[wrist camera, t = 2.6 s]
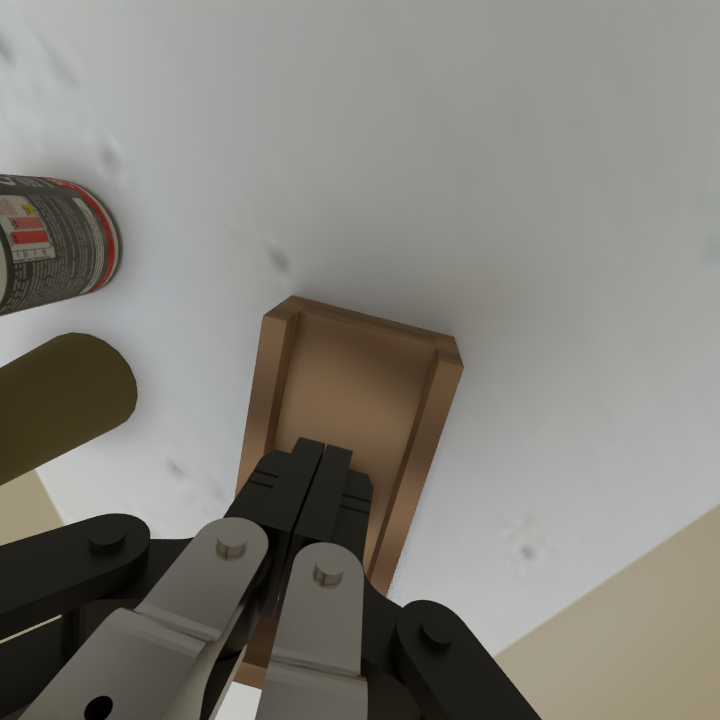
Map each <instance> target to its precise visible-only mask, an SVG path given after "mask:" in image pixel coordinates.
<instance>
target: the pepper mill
mask: <svg viewBox="0 0 720 720" xmlns="http://www.w3.org/2000/svg"><path fill="white" fill-rule="evenodd" d="M136 401H137V388H136V381H135V378H134V376H133V374H132V371H131V369H130V367H129V365H128V364H127V362H126V361H125V360H124V359H123V357H122V356H121V355H120V353H119V352H118V351H116V350H115V349H114V348H113V347H111V346H110V345H109V344H107V343H106V342H105V341H103V340H101V339H98V338H96V337H93V336H91V335H89V334H81V333H68V334H64V335H60V336H57V337H55V338H53V339H52V340H50V341H48V342H46V343H44V344H43V345H41V346H39V347H37V348H35V349H34V350H32V351H30V352H28V353H26V354H25V355H23V356H21V357H19V358H17V359H16V360H14V361H12V362H10V363H8V364H7V365H5V366H3V367H1V368H0V486H1V485H3V484H5V483H7V482H9V481H11V480H13V479H15V478H17V477H19V476H21V475H23V474H25V473H27V472H28V471H31V470H33V469H35V468H37V467H39V466H40V465H42V464H44V463H46V462H48V461H50V460H52V459H54V458H56V457H58V456H60V455H62V454H64V453H66V452H68V451H70V450H72V449H74V448H76V447H78V446H80V445H82V444H84V443H86V442H88V441H90V440H92V439H94V438H96V437H98V436H100V435H102V434H104V433H106V432H108V431H110V430H112V429H114V428H116V427H117V426H119V425H121V424H122V423H124V422H125V421H127V420H128V418H129V417H130V415H131V414H132V413H133V411H134V409H135V405H136Z"/></svg>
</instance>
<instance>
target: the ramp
mask: <svg viewBox="0 0 720 720" xmlns="http://www.w3.org/2000/svg"><path fill="white" fill-rule="evenodd" d="M463 368H464V366H463V363H462V360H461V357H460V354H459V351H458V347H457V344H456V341H455V338H454V337H452V336H448V335H444V334H440V333H436V332H432V331H428V330H424V329H420V328H416V327H412V326H408V325H405V324H401V323H397V322H393V321H389V320H385V319H381V318H377V317H373V316H369V315H365V314H362V313H358V312H354V311H350V310H346V309H342V308H338V307H334V306H330V305H326V304H322V303H319V302H315V301H311V300H307V299H303V298H299V297H295V296H290V297H289V298H288V299H286V300H285V301H283V302H282V303H280V304H279V305H278V306H276V307H275V308H273V309H272V310H270V311H269V312H267V313H266V314H265V315H263V320H262V326H261V333H260V339H259V346H258V352H257V358H256V365H255V371H254V377H253V384H252V390H251V397H250V403H249V409H248V416H247V422H246V428H245V435H244V441H243V448H242V454H241V460H240V467H239V473H238V479H237V486H236V492H235V498H236V497H237V495H238V493H239V492H240V490H241V489H242V487H243V486H244V484H245V482H247V479H248V478H249V476H250V474H251V473H252V472H253V471H254V468H255V467H256V465H257V463H258V462H259V460H260V459H261V457H263V456H265V455H266V454H268V453H270V452H271V451H273V450H275V449H277V450H280V451H284V452H288V453H291V452H292V450H293V448H294V446H295V444H296V442H297V440H298V438H299V437H304V438H307V439H311V440H315V441H319V442H322V443H325V444H326V445H325V449H326V447H327V444H330V445H334V446H337V447H341V448H345V449H349V450H352V451H353V454H352V457H351V461H350V465H349V469H351V470H354V471H358V472H362V473H365V474H368V476H369V479H370V481H371V483H372V485H373V495H372V502H371V509H370V514H369V522H368V529H367V537H366V543H365V550H364V557H363V567H364V571H365V574H366V576H367V578H368V580H369V582H370V583H371V584H372V586H373V587H374V588H375V589H376V590H377V591H378V592H379V593H380V594H382V595H383V596H384V597H386V596H387V593H388V590H389V587H390V584H391V581H392V578H393V575H394V572H395V569H396V566H397V563H398V560H399V557H400V554H401V551H402V548H403V546H404V543H405V540H406V537H407V534H408V531H409V528H410V525H411V522H412V519H413V516H414V513H415V510H416V507H417V504H418V501H419V498H420V495H421V492H422V489H423V486H424V483H425V480H426V477H427V474H428V472H429V469H430V466H431V463H432V460H433V457H434V454H435V451H436V448H437V445H438V442H439V439H440V436H441V433H442V430H443V427H444V424H445V421H446V418H447V415H448V412H449V409H450V406H451V403H452V401H453V398H454V395H455V392H456V389H457V386H458V383H459V380H460V377H461V374H462V371H463ZM324 452H325V450H324ZM234 500H235V499H234ZM277 604H278V600H277V603H276V606H275V609H274V612H273V614H272V617H271V619H268V618H265V617H261V616H260V617H259V620H258V622H257V625H256V628H255V630H254V633H253V635H252V637H251V639H250V641H249V642H248V647H247V650H246V653H245V655H244V658H243V660H242V662H241V664H240V666H239V668H238V670H237V672H236V675H235V677H234V679H233V681H234V682H237V683H241V684H244V685H248V686H251V687H255V688H258V689H261V690H262V688H263V684H264V680H265V676H266V672H267V668H268V664H269V660H270V657H271V653H272V649H273V645H274V641H275V636H276V632H277V628H278V624H279V621H276V620H274V617H275V613H276V609H277Z"/></svg>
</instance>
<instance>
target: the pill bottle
mask: <svg viewBox="0 0 720 720" xmlns="http://www.w3.org/2000/svg"><path fill="white" fill-rule="evenodd" d="M118 251H119V248H118V239H117V235H116V231H115V228H114V225H113V223H112V221H111V219H110V217H109V215H108V214H107V212H106V211H105V209H104V208H103V207H102V205H101V204H100V203H99V202H98V201H97V200H96V199H95V198H94V197H93V196H92V195H91V194H89V193H88V192H87V191H85V190H84V189H82V188H81V187H79V186H77V185H75V184H73V183H70V182H67V181H64V180H59V179H53V178H44V177H32V176H18V175H5V174H0V316H4V315H8V314H11V313H15V312H19V311H23V310H27V309H31V308H35V307H39V306H43V305H47V304H51V303H55V302H59V301H63V300H67V299H71V298H75V297H78V296H82V295H86V294H89V293H92V292H94V291H96V290H98V289H99V288H101V287H102V286H103V285H105V284H106V283H107V282H108V280H109V279H110V278H111V276H112V274H113V273H114V270H115V268H116V265H117V261H118Z"/></svg>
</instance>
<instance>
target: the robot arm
mask: <svg viewBox="0 0 720 720" xmlns="http://www.w3.org/2000/svg"><path fill="white" fill-rule="evenodd" d="M325 445H326V444H325V443H322V442H319V441H315V440H311V439H307V438H304V437H299V438H298V440H297V442H296V444H295V446H294V448H293V450H292V452H291V453H288V452H284V451H280V450H277V449H275V450H273V451H271V452H270V453H268V454H266V455H265V456H263V457H261V459H260V460H259V462H258V463H257V465H256V467H255V468H254V471H253V472H252V473H251V474H250V476H249V478H248V479H247V482H245V484H244V486H243V487H242V489H241V490H240V492H239V493H238V495H237V497H236V498H235V500H234V501H233V503H232V504H231V506H230V508H229V509H228V511H227V512H226V514H225V515H224V517H223V518H222V519H218V520H215V521H212V522H210V523H209V524H207V525H206V526H204V527H203V528H202V529H201V530H200V531H199V532H198V533H197V535H196V536H195V537H193V538H187V539H150V530H149V528H148V526H147V525H146V523H145V522H143V521H142V520H141V519H139V518H137V517H135V516H132V515H127V514H118V513H115V514H105V515H100V516H96V517H93V518H89V519H86V520H83V521H80V522H76V523H73V524H70V525H67V526H63V527H60V528H57V529H54V530H51V531H47V532H44V533H41V534H38V535H34V536H31V537H28V538H24V539H21V540H18V541H15V542H12V543H8V544H5V545H2V546H0V640H3V639H5V638H7V637H10V636H12V635H14V634H17V633H19V632H21V631H24V630H26V629H28V628H30V627H33V626H35V625H38V624H40V623H42V622H44V621H47V620H49V619H51V618H54V617H56V616H58V615H61V618H59V619H56V620H54V621H52V622H49V623H47V624H45V625H42V626H40V627H38V628H36V629H33V630H31V631H29V632H27V633H24V634H22V635H20V636H17V637H15V638H13V639H10V640H8V641H6V642H4V643H1V644H0V720H214V719H215V717H216V715H217V713H218V711H219V708H220V706H221V704H222V702H223V700H224V698H225V696H226V694H227V692H228V689H229V687H230V685H231V683H232V681H233V679H234V677H235V675H236V672H237V670H238V668H239V666H240V664H241V662H242V660H243V658H244V655H245V653H246V650H247V647H248V642H249V641H250V639H251V637H252V635H253V633H254V630H255V628H256V625H257V622H258V620H259V617H260V616H261V617H265V618H268V619H271V617H272V614H273V612H274V609H275V606H276V603H277V600H278V598H279V600H278V604H277V609H276V613H275V617H274V620H276V621H279V624H278V628H277V632H276V636H275V641H274V645H273V649H272V653H271V657H270V660H269V664H268V668H267V672H266V676H265V680H264V684H263V688H262V693H261V697H260V701H259V705H258V709H257V713H256V717H255V720H541V718H540V717H539V716H538V714H537V713H536V712H535V711H534V709H533V708H532V707H531V706H530V704H529V703H528V702H527V701H526V699H525V698H524V697H523V696H522V694H521V693H520V692H519V691H518V689H517V688H516V687H515V686H514V684H513V683H512V682H511V681H510V679H509V678H508V677H507V676H506V674H505V673H504V672H503V671H502V669H501V668H500V667H499V666H498V664H497V663H496V662H495V661H494V659H493V658H492V657H491V656H490V654H489V653H488V652H487V651H486V649H485V648H484V647H483V646H482V644H481V643H480V642H479V641H478V639H477V638H476V637H475V636H474V634H473V633H472V632H471V631H470V629H469V628H468V627H467V626H466V624H465V623H464V622H463V621H462V620H461V619H460V617H459V616H458V615H456V614H455V613H454V612H453V611H452V610H450V609H449V608H447V607H445V606H444V605H442V604H439V603H437V602H433V601H429V600H417V601H413V602H410V603H409V604H407V605H406V606H404V607H403V608H402V607H400V606H399V605H397V604H395V603H394V602H392V601H391V600H389V599H387V598H386V597H384V596H383V595H382V594H380V593H379V592H378V591H377V590H376V589H375V588H374V587H373V586H372V584H371V583H370V582H369V580H368V578H367V576H366V574H365V571H364V567H363V557H364V550H365V543H366V536H367V529H368V522H369V514H370V509H371V502H372V495H373V485H372V483H371V481H370V479H369V476H368V474H365V473H362V472H358V471H354V470H351V469H349V465H350V461H351V457H352V454H353V451H352V450H349V449H345V448H341V447H337V446H334V445H330V444H327V447H326V449H325ZM324 450H325V452H324Z"/></svg>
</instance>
